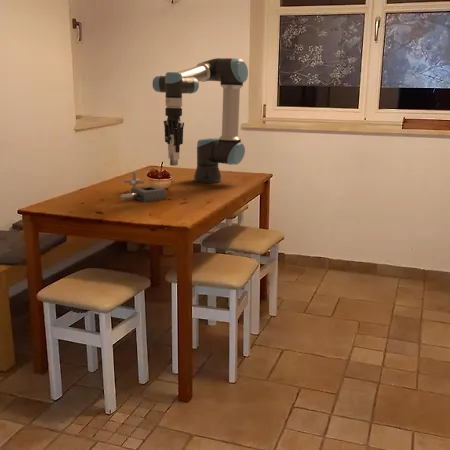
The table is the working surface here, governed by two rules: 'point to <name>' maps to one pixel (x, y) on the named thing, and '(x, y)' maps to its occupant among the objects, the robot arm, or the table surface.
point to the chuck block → (146, 194)
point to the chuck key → (172, 162)
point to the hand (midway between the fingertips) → (173, 158)
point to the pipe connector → (134, 180)
